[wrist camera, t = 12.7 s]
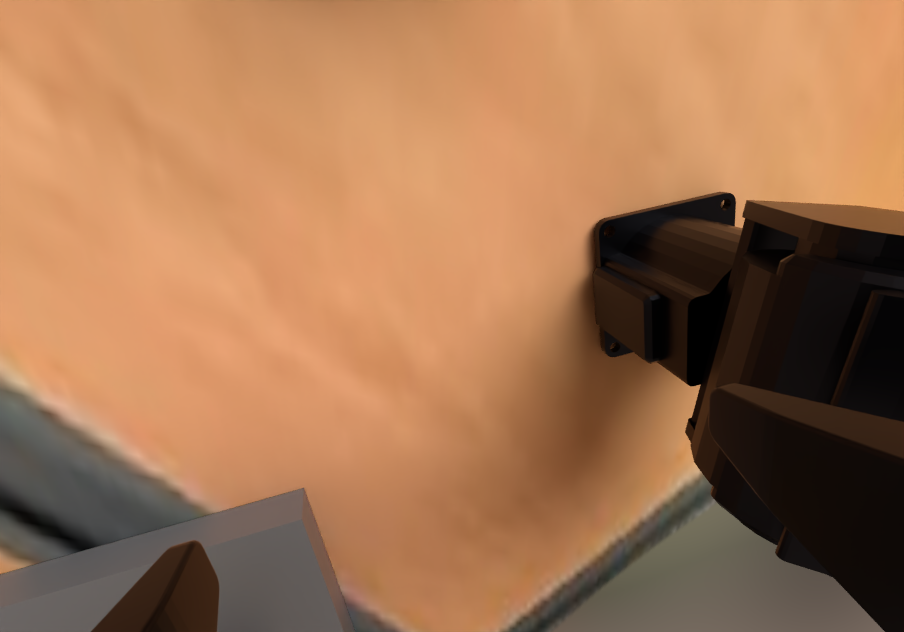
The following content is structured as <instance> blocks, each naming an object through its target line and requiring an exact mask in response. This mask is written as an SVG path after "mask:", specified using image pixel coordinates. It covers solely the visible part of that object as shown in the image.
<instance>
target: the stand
mask: <svg viewBox="0 0 904 632" xmlns="http://www.w3.org/2000/svg"><path fill="white" fill-rule="evenodd" d="M191 540H196V541H199V542H200V543H201V544H202V546H203V548H204V550H205V552H206V554H207V556H208V558H209V560H210V562H211V564H212V566H213V568H214V570H215V572H216V575H217V577H218V581H219V608H218V624H217V632H355V629H354V626H353V624H352V621H351V618H350V615H349V612H348V610H347V607H346V604H345V601H344V598H343V596H342V593H341V590H340V587H339V585H338V582H337V579H336V576H335V573H334V571H333V568H332V565H331V562H330V559H329V557H328V554H327V551H326V548H325V545H324V543H323V540H322V537H321V534H320V532H319V529H318V526H317V523H316V520H315V518H314V515H313V512H312V509H311V506H310V504H309V501H308V498H307V495H306V492H305V490H304V488H302V489H299V490H295V491H292V492H288V493H284V494H281V495H277V496H274V497H270V498H267V499H263V500H260V501H256V502H253V503H249V504H246V505H242V506H239V507H235V508H232V509H228V510H225V511H221V512H218V513H214V514H211V515H207V516H204V517H200V518H197V519H193V520H190V521H186V522H183V523H179V524H176V525H172V526H169V527H165V528H162V529H158V530H155V531H151V532H148V533H144V534H141V535H137V536H134V537H130V538H127V539H123V540H119V541H116V542H112V543H109V544H105V545H102V546H98V547H95V548H91V549H88V550H84V551H81V552H77V553H74V554H70V555H67V556H63V557H60V558H56V559H53V560H49V561H46V562H42V563H39V564H35V565H32V566H28V567H25V568H21V569H18V570H14V571H11V572H7V573H4V574H0V632H91V631H92V630H93V629H94V628H95V626H96V625H97V624H98V623H99V622H100V621H101V620H102V619H103V618H104V617H105V616H106V615H107V613H108V612H109V611H110V610H111V609H112V608H113V607H114V606H115V605H116V604H117V603H118V602H119V600H120V599H121V598H122V597H123V596H124V595H125V594H126V593H127V592H128V591H129V590H130V589H131V588H132V586H133V585H134V584H135V583H136V582H137V581H138V580H139V579H140V578H141V577H142V576H143V575H144V573H145V572H146V571H147V570H148V569H149V568H150V567H151V566H152V565H153V564H154V563H155V562H156V561H157V559H158V558H159V557H160V556H161V555H162V554H163V553H164V552H165V551H166V550H167V549H168V548H170V547H172V546H174V545H178V544H181V543H185V542H188V541H191Z"/></svg>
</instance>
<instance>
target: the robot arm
mask: <svg viewBox="0 0 904 632" xmlns="http://www.w3.org/2000/svg"><path fill="white" fill-rule="evenodd" d="M723 200H724V205H723V206H722V208H721V207H720V205H721V202H722V201H723ZM735 207H736V201H735V197H734V195H733V194H731V193H727V192H717V193H713V194H708V195H704V196H700V197H695V198H691V199H687V200H682V201H678V202H673V203H669V204H665V205H660V206H656V207H651V208H647V209H643V210H638V211H634V212H630V213H625V214H621V215H616V216H612V217H608V218H604V219H602V220H600V221H599V222H598V223H597V224H596V226H595V230H594V237H595V254H596V269H595V271H594V273H593V283H594V299H595V315H596V324H597V325H598V326H600V338H601V348H602V351H603V352H604V353H606V354H607V355H608V356H610V357H617V356H621V355H624V354H628V353H632V352H634V353H635V354H637V355H638V356H639V357H641V358H642V359H643V360H645V361H646V362H648V363H654V362H658V363H659V364H660V365H662V366H663V367H665V368H666V369H667V370H669V371H670V372H671V373H673V374H674V375H675V376H677V377H678V378H680V379H681V380H682V381H684V382H685V383H686V384H688V385H689V386H696V385H700V384H701V386H700V390H699V393H698V397H697V401H696V405H695V408H694V412H693V416H692V418H689V419H688V423H687V427H686V430H685V433H686V435H687V436H688V438H689V440H690V442H691V450H692V454H693V459H694V462H695V464H696V465H697V467H698V468H699V469H700V471H701V472H702V473H703V475H704V476H705V477H706V479H707V480H708V481H709V483H710V484H712V485H713V486H712V490H711V496H712V497H713V498H714V499H715V501H716V502H717V503H718V504H719V505H720V506H721V507H723V508H724V509H725V510H727V511H728V512H729V513H730V514H732V515H733V516H734V517H735V518H737V519H738V520H739V521H740V522H741V523H742V524H743V525H745V526H746V527H748V528H749V529H751V530H752V531H753V532H754V533H756V534H757V535H759V536H761V537H763V538H765V539H766V540H768V541H770V542H772V543H773V544H775V545H778V546H777V549H776V552H775V553H776V555H777V556H778V557H779V558H780V559H782V560H783V561H786V562H789V563H792V564H795V565H799V566H801V567H805V568H808V569H811V570H814V571H818V572H821V573H824V574H827V575H829V576H831V577H833V578H834V579H835V580H836V581H837V582H838V583H839V584H840V585H841V586H842V587H843V588H844V589H845V590H846V591H847V592H848V593H849V594H850V595H851V597H852V598H853V599H854V600H855V601H856V602H857V603H858V604H859V605H860V606H861V607H862V608H863V609H864V610H865V611H866V612H867V613H868V614H869V615H870V617H871V618H872V619H873V620H874V621H875V622H876V623H877V624H878V625H879V626H880V627H881V628H882V629H883V630H884V631H885V632H904V212H901V211H894V210H886V209H879V208H871V207H864V206H851V205H832V204H812V203H793V202H774V201H754V200H747V201H746V204H745V208H744V212H743V216H742V217H744V218H745V222H744V225H743V229H742V228H738V227H735ZM608 226H610V228H611V229H610V232H609V234H607V235H606V236H605V234H604V231H605V229H606V227H608ZM615 342H616V344H615V346H614V348H612V349H610V347H611V345H612V344H613V343H615ZM218 608H219V581H218V577H217V575H216V572H215V570H214V568H213V566H212V564H211V562H210V560H209V558H208V556H207V554H206V552H205V550H204V548H203V546H202V544H201V543H200V542H199V541H196V540H191V541H188V542H185V543H181V544H178V545H174V546H172V547H170V548H168V549H167V550H166V551H165V552H164V553H163V554H162V555H161V556H160V557H159V558H158V559H157V561H156V562H155V563H154V564H153V565H152V566H151V567H150V568H149V569H148V570H147V571H146V572H145V573H144V575H143V576H142V577H141V578H140V579H139V580H138V581H137V582H136V583H135V584H134V585H133V586H132V588H131V589H130V590H129V591H128V592H127V593H126V594H125V595H124V596H123V597H122V598H121V599H120V600H119V602H118V603H117V604H116V605H115V606H114V607H113V608H112V609H111V610H110V611H109V612H108V613H107V615H106V616H105V617H104V618H103V619H102V620H101V621H100V622H99V623H98V624H97V625H96V626H95V628H94V629H93V630H92V631H91V632H217V624H218Z"/></svg>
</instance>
